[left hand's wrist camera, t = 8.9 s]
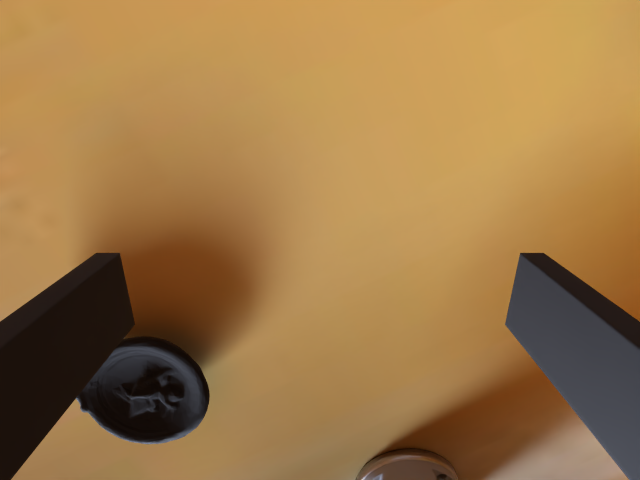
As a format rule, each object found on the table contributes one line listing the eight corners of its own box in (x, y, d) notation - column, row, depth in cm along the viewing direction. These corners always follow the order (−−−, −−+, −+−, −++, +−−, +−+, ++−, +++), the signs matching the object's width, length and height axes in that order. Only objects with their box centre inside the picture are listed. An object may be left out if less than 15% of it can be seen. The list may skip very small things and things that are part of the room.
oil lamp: (64, 297, 44) (33, 321, 39) (228, 336, 46) (217, 364, 41) (58, 392, 49) (31, 423, 45) (206, 424, 51) (194, 457, 47)
